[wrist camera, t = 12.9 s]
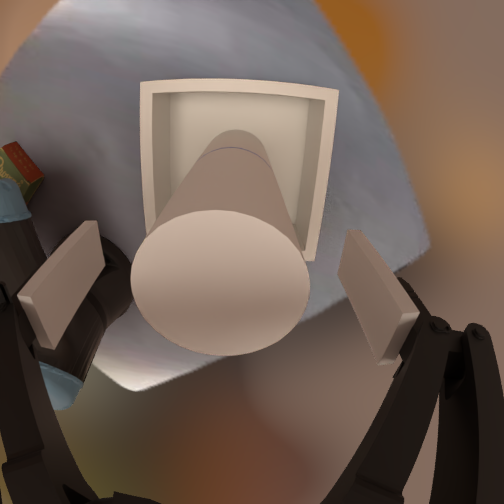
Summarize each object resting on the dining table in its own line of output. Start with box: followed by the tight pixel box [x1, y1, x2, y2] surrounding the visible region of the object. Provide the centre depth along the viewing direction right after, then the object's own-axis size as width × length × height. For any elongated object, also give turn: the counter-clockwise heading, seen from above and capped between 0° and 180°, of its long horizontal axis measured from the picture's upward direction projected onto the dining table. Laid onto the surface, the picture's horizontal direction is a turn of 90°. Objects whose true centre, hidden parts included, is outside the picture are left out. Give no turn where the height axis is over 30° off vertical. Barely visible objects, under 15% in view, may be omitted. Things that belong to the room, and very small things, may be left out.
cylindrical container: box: [130, 129, 310, 356], centre depth 22 cm, size 7×7×25 cm
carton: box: [0, 142, 44, 206], centre depth 33 cm, size 8×16×4 cm, turn 128°
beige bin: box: [140, 79, 339, 261], centre depth 31 cm, size 18×18×8 cm
